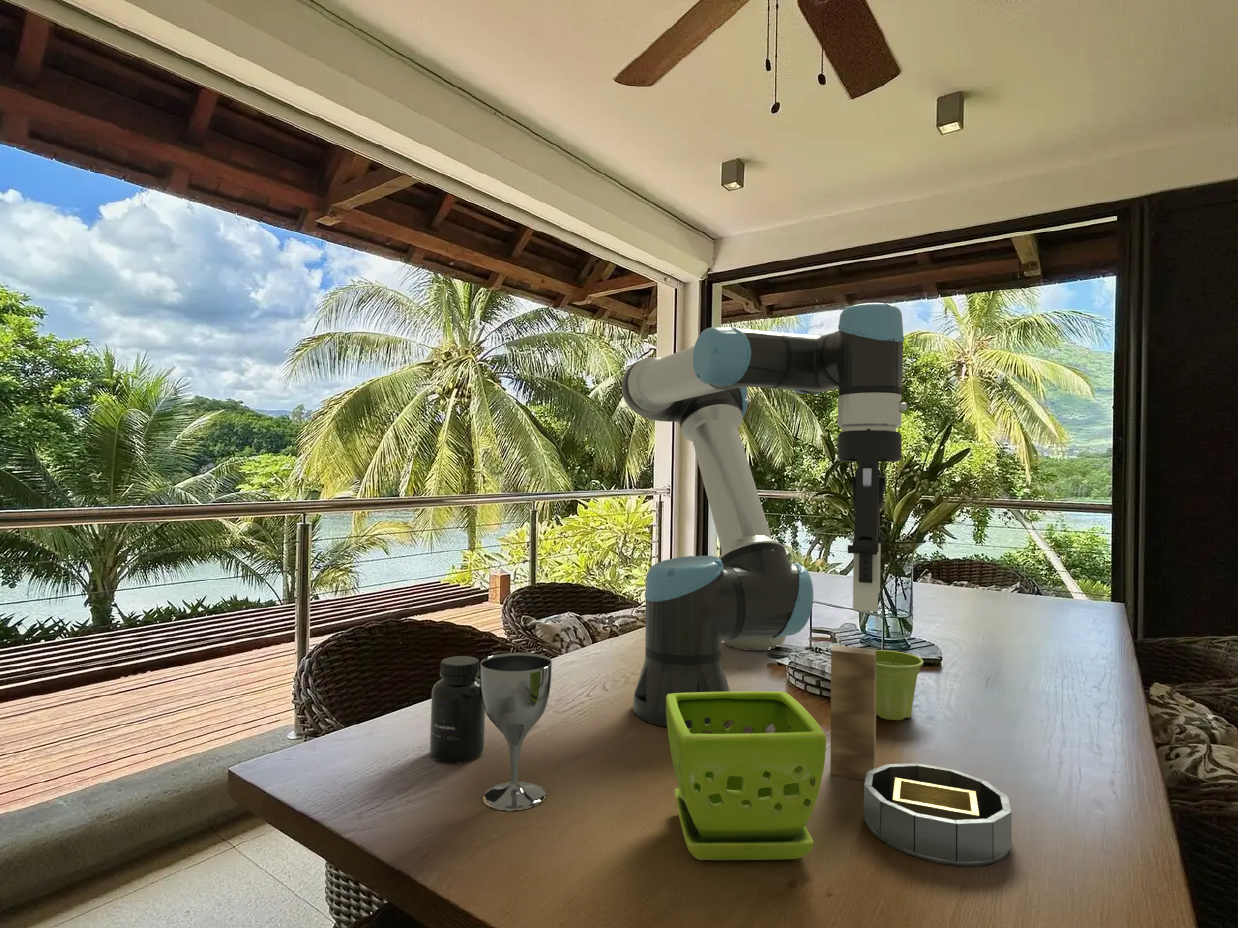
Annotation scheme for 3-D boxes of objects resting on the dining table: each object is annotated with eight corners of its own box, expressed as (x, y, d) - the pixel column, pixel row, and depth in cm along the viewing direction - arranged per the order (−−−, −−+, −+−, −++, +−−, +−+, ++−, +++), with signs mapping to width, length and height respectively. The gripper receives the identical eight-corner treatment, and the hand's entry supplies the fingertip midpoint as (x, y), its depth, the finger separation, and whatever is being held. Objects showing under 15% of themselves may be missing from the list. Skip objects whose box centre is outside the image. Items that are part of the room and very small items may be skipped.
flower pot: (788, 804, 77) (789, 688, 77) (830, 876, 63) (831, 735, 63) (661, 804, 77) (663, 688, 77) (676, 877, 63) (678, 735, 63)
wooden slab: (830, 773, 85) (831, 650, 85) (833, 764, 88) (834, 645, 88) (873, 781, 83) (874, 655, 83) (875, 771, 86) (876, 649, 86)
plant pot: (929, 727, 102) (929, 667, 102) (861, 722, 104) (861, 663, 104) (915, 706, 111) (915, 651, 111) (853, 702, 113) (853, 648, 113)
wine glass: (516, 774, 84) (518, 649, 84) (564, 794, 79) (566, 660, 79) (463, 797, 78) (465, 662, 78) (511, 820, 73) (513, 675, 73)
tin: (859, 846, 68) (859, 805, 68) (869, 790, 81) (870, 755, 81) (1017, 880, 63) (1017, 835, 63) (1002, 814, 75) (1002, 777, 75)
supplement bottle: (430, 767, 86) (431, 668, 86) (429, 746, 92) (431, 655, 93) (486, 761, 88) (488, 665, 88) (482, 741, 94) (484, 652, 94)
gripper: (903, 423, 74) (900, 623, 74) (900, 435, 98) (899, 587, 97) (829, 423, 77) (827, 616, 77) (844, 435, 100) (842, 583, 100)
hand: (867, 600), depth 87 cm, fingers open, 13 cm apart
